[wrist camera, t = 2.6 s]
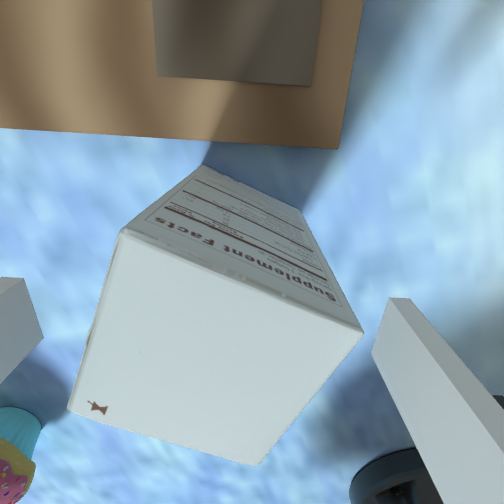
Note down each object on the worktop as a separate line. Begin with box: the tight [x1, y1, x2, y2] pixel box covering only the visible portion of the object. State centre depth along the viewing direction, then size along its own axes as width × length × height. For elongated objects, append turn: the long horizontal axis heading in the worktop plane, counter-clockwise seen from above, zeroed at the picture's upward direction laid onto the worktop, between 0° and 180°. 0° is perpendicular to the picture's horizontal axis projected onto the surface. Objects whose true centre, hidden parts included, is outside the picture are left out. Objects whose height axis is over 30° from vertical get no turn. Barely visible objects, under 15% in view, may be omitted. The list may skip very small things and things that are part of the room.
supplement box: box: [67, 165, 364, 466], centre depth 14 cm, size 7×7×13 cm
